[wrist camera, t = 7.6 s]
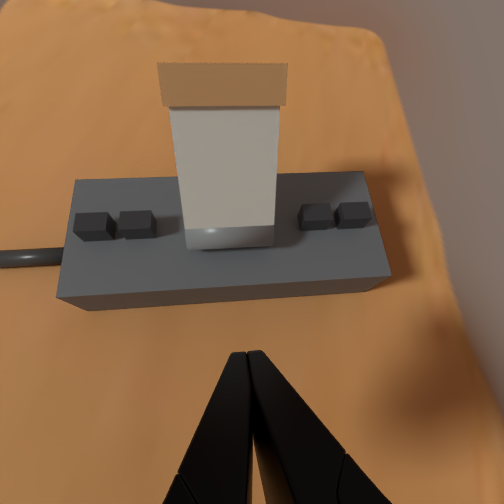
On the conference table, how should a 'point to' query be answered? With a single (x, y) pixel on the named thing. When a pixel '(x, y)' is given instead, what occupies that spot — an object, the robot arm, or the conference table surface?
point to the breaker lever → (225, 148)
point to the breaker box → (211, 260)
